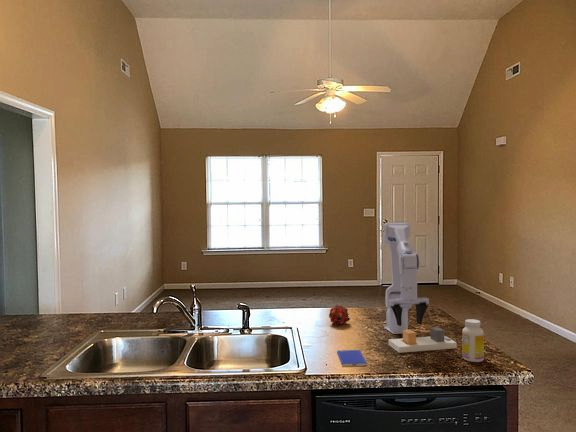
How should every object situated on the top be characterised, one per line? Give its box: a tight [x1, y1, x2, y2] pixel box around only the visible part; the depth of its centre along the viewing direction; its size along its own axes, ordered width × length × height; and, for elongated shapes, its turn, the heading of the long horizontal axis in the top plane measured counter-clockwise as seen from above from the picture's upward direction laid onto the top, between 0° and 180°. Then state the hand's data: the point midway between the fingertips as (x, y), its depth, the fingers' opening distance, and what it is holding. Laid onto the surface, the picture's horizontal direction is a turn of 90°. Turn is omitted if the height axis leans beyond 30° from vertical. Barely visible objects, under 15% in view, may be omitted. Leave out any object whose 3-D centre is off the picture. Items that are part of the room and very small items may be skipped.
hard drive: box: [336, 349, 368, 367], centre depth 152 cm, size 2×8×12 cm
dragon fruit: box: [328, 304, 351, 327], centre depth 196 cm, size 8×8×12 cm
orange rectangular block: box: [402, 328, 417, 345], centre depth 163 cm, size 4×3×6 cm, turn 11°
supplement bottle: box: [461, 318, 485, 363], centre depth 150 cm, size 7×7×13 cm
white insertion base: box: [388, 326, 458, 354], centre depth 164 cm, size 9×22×6 cm, turn 101°
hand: (409, 324), depth 163 cm, fingers open, 7 cm apart
